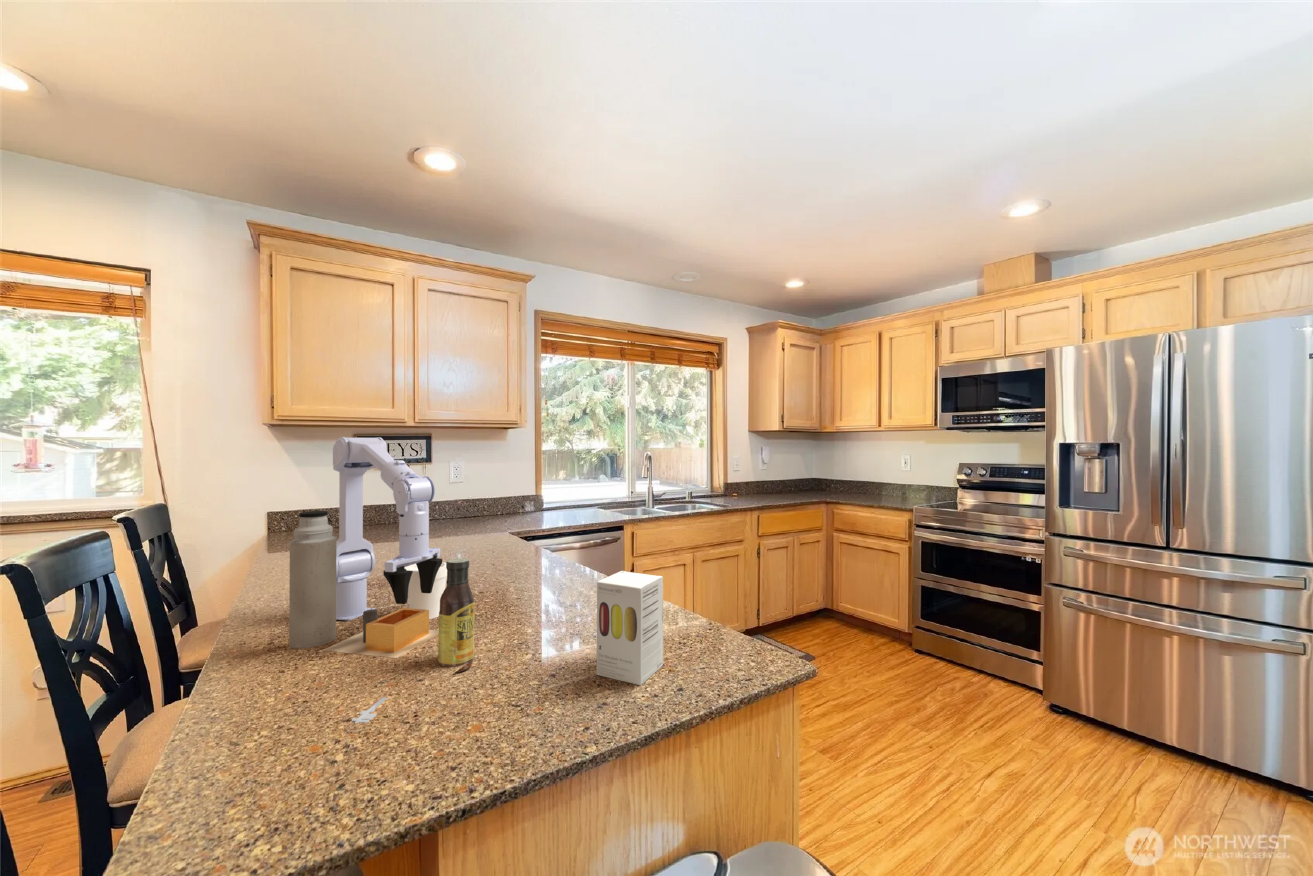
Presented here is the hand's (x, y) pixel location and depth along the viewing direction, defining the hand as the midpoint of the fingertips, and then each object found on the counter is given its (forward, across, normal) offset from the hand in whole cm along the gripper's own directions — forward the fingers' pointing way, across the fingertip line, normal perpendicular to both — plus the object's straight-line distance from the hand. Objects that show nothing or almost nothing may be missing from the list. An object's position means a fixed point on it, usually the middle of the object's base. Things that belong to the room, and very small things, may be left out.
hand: (414, 598), depth 107 cm
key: (+10, -24, -13) cm, 28 cm away
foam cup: (+9, +10, +5) cm, 15 cm away
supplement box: (+9, -4, -49) cm, 50 cm away
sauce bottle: (+9, -10, -17) cm, 22 cm away
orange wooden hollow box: (+8, -4, 0) cm, 9 cm away
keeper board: (+9, -4, +3) cm, 11 cm away
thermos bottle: (+9, -8, +18) cm, 21 cm away
